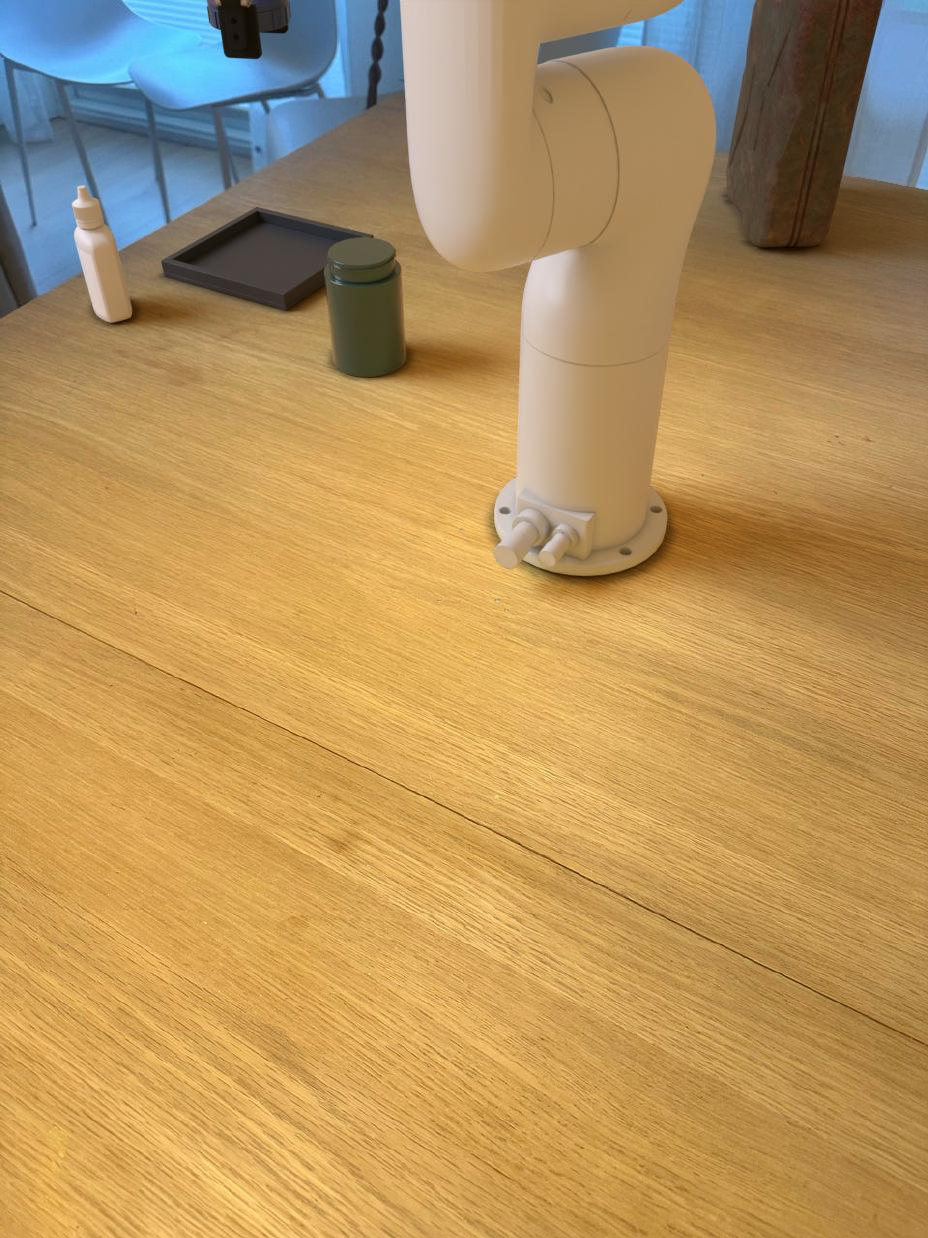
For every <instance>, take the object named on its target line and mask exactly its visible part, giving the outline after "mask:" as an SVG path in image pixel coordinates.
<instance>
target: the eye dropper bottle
mask: <svg viewBox="0 0 928 1238" xmlns="http://www.w3.org/2000/svg"><path fill="white" fill-rule="evenodd" d="M76 189H77V191H76V192H77V198H76V199H75V200H73V201H72V202H71V208H72V211H73V215H74V220H75V222H76V227H75V229H74V233H73V237H74V238H73V239H74V242H75V247H76V249H77V253H78V257H79V262H80V264H81V268H82V272H83V276H84V280H85V284H86V287H87V291H88V294H89V298H90V302H91V305H92V308H93V311H94V313H95V315H96V316H97V317H98V318H99V319H100V320H102V321H104V322H107V323H111V324H113V323H117V322H122V321H125V320H128V319H131V317H132V315H133V307H132V302H131V299H130V294H129V290H128V286H127V282H126V278H125V274H124V270H123V266H122V262H121V258H120V253H119V249H118V246H117V245H118V244H117V241H116V238H115V236H114V233H113V231H112V230H111V229H110V227H109V226H108V225H107V224H106V223H105V219H104V215H103V211H102V207H101V203H100V200H99V199H98V198H96V197H92V196H90V194H89V192H88V189H87V187H86V185H82V184H81V185H78V186H77V187H76Z"/></svg>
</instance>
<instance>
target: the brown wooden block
mask: <svg viewBox="0 0 928 1238" xmlns="http://www.w3.org/2000/svg"><path fill="white" fill-rule="evenodd" d="M883 2H884V0H755V1H754V4H753V8H752V14H751V20H750V26H749V33H748V40H747V45H746V46H747V47H746V55H745V56H746V58H745V68H744V69H743V74H742V77H741V83H740V84H741V85H740V90H739V95H738V96H739V97H738V102H737V108H736V112H735V113H736V114H735V119H734V124H733V131H732V136H731V140H730V141H731V142H730V146H729V153H728V159H727V163H726V164H727V165H726V169H725V170H726V171H725V179H726V181H725V182H726V194H727V197H728V198H729V200H730V202H731V203H732V204H733V205H734V206H735V208H736V209H737V210H738V211H739V212H740V213H741V214H742V224H743V228H744V230H745V232H746V235H747V237H748V239H749V241H750V242H751V244H753V245H754V246H755V247H758V248H786V247H787V248H791V247H792V248H793V247H794V248H810V247H814V246H817V245H821V243H822V242H823V240H824V239H825V237H826V236H827V235H828V234H829V232H830V228H831V223H832V220H833V216H834V212H835V208H836V204H837V200H838V197H839V191H840V189H841V188H840V187H841V183H842V179H843V174H844V170H845V165H846V161H847V157H848V152H849V147H850V143H851V138H852V134H853V130H854V126H855V125H854V124H855V121H856V120H855V119H856V115H857V112H858V111H857V110H858V106H859V102H860V98H861V94H862V90H863V86H864V81H865V77H866V73H867V70H868V66H869V61H870V57H871V53H872V49H873V45H874V40H875V36H876V32H877V28H878V24H879V20H880V16H881V10H882V7H883Z"/></svg>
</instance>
